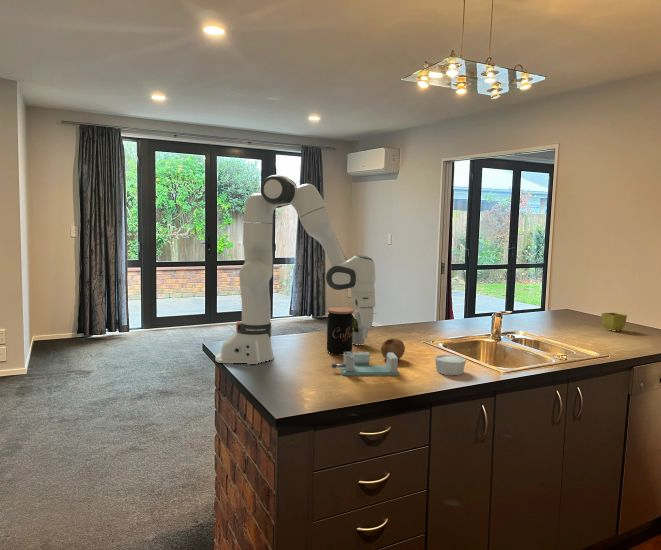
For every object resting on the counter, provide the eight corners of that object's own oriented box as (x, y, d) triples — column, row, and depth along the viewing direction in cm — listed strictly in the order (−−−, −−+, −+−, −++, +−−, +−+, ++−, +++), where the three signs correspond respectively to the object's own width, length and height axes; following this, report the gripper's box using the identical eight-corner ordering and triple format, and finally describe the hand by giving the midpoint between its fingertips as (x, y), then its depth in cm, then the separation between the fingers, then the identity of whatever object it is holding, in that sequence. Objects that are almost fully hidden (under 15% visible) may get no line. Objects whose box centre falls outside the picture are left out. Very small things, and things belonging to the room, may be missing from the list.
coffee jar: (330, 355, 198) (331, 312, 196) (323, 349, 208) (324, 307, 206) (355, 354, 201) (356, 311, 199) (347, 348, 211) (348, 306, 209)
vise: (342, 375, 173) (343, 358, 172) (340, 368, 180) (341, 352, 180) (398, 375, 174) (399, 358, 174) (393, 368, 182) (394, 352, 182)
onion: (388, 369, 191) (383, 349, 187) (380, 357, 200) (374, 337, 195) (410, 360, 192) (405, 340, 188) (401, 348, 201) (396, 328, 196)
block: (353, 367, 183) (353, 354, 182) (351, 364, 187) (352, 351, 186) (369, 367, 183) (369, 354, 183) (367, 364, 187) (367, 351, 187)
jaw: (332, 371, 172) (332, 357, 172) (330, 365, 180) (331, 351, 179) (354, 371, 173) (354, 357, 172) (351, 365, 181) (352, 351, 180)
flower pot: (599, 329, 265) (600, 312, 264) (612, 328, 267) (613, 312, 266) (613, 332, 256) (614, 315, 256) (626, 332, 259) (627, 315, 258)
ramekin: (442, 366, 188) (443, 352, 187) (470, 372, 181) (471, 358, 180) (428, 372, 179) (429, 358, 179) (457, 379, 172) (458, 364, 172)
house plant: (377, 341, 224) (378, 306, 223) (376, 348, 211) (378, 311, 209) (346, 339, 226) (347, 305, 224) (343, 347, 212) (344, 310, 210)
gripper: (351, 295, 192) (350, 329, 194) (358, 303, 172) (358, 341, 174) (367, 294, 193) (366, 329, 194) (376, 303, 173) (375, 341, 174)
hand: (362, 335), depth 184 cm, fingers open, 8 cm apart
